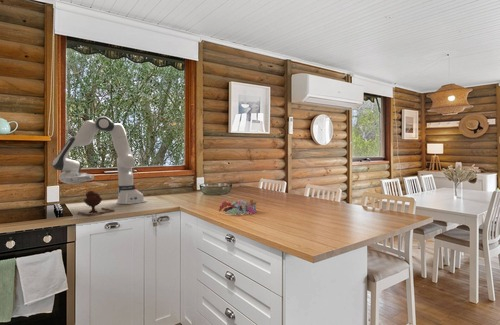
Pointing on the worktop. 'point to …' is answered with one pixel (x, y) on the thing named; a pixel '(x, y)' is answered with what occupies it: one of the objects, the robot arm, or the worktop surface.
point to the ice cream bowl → (92, 200)
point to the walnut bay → (97, 213)
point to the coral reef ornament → (239, 207)
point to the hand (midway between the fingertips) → (84, 179)
